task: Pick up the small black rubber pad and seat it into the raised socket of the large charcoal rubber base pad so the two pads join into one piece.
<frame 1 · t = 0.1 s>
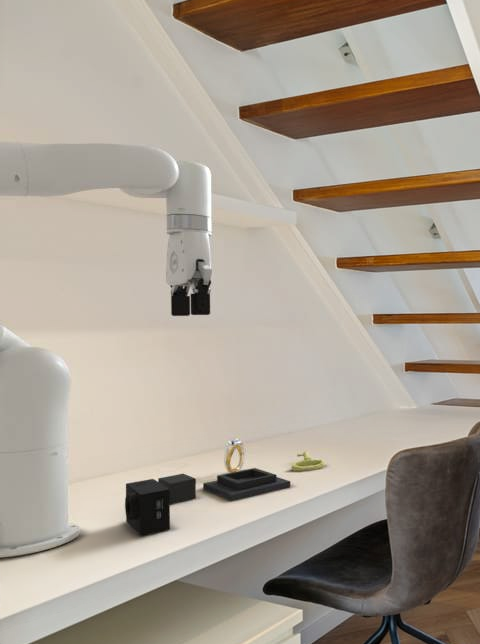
hand: (190, 315, 114), 37 cm above the table, tool pointing down, fingers open, 9 cm apart
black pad: (177, 498, 119), on the table
base pad: (246, 487, 125), on the table
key: (307, 466, 144), on the table
digital camera: (143, 528, 102), on the table
ring: (235, 473, 138), on the table
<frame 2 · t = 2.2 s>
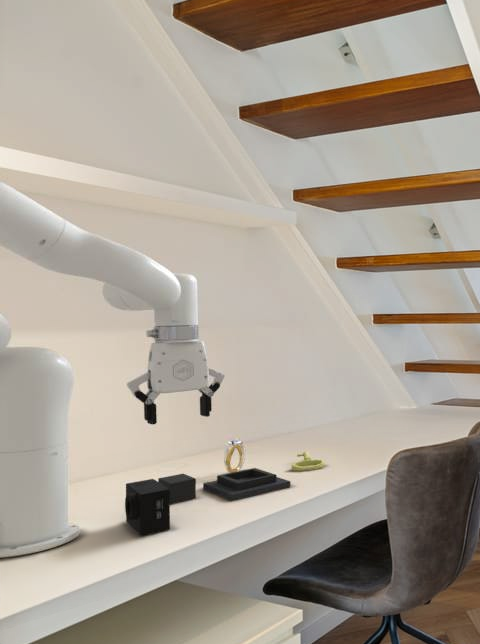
hand: (179, 419, 119), 16 cm above the table, tool pointing down, fingers open, 9 cm apart
nothing on the table moved.
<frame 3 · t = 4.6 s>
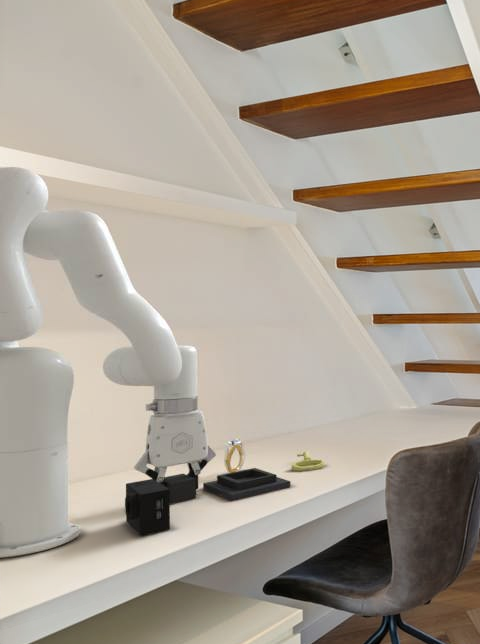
hand: (177, 496, 119), 0 cm above the table, tool pointing down, fingers closed on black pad, 4 cm apart
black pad: (177, 498, 119), on the table, touching gripper
everything else where it was.
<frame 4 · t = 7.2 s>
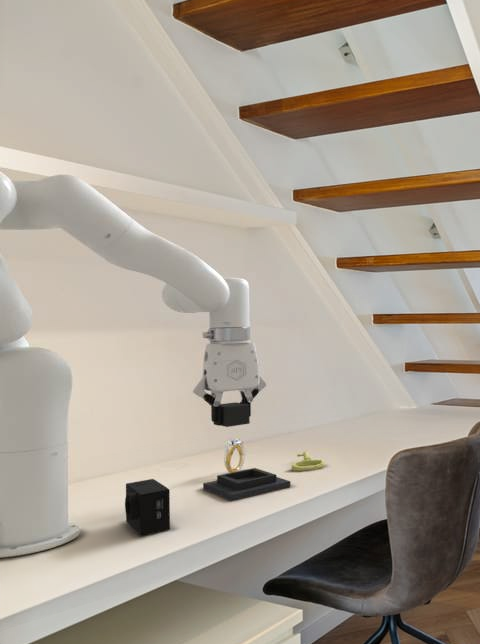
hand: (231, 421, 124), 14 cm above the table, tool pointing down, fingers closed on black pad, 4 cm apart
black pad: (231, 423, 124), point 14 cm above the table, touching gripper
everything else where it was.
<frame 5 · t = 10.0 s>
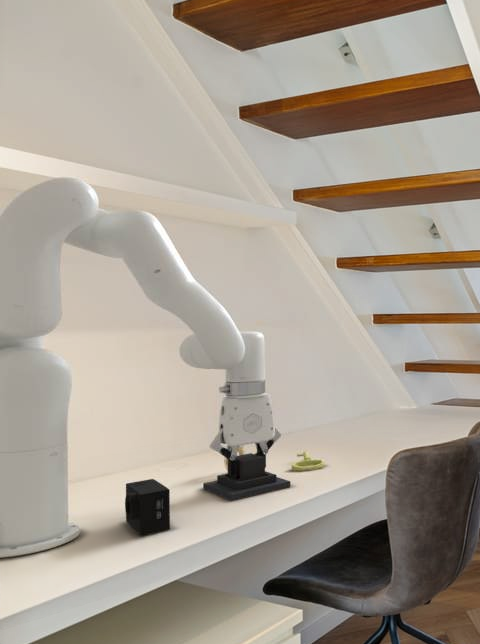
hand: (247, 474, 125), 3 cm above the table, tool pointing down, fingers closed on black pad, 4 cm apart
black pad: (247, 475, 125), point 2 cm above the table, touching gripper
everything else where it was.
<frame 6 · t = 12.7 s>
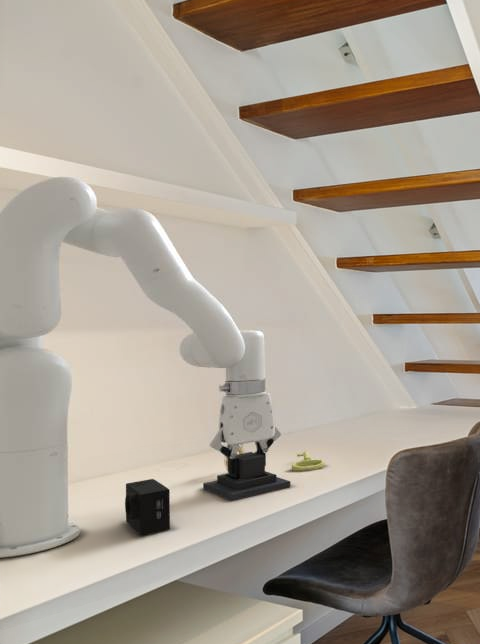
hand: (247, 472, 125), 3 cm above the table, tool pointing down, fingers closed on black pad, 4 cm apart
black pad: (247, 474, 125), point 3 cm above the table, touching gripper
everything else where it was.
when the fingers open (3 cm above the table, at t = 15.1 s): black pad drops 2 cm, resting on base pad.
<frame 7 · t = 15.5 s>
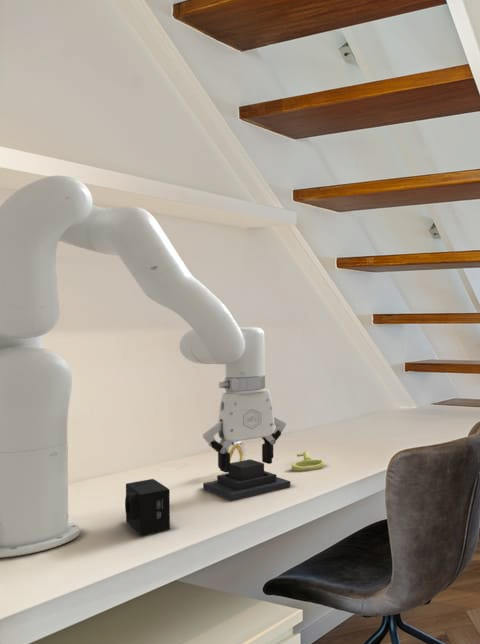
hand: (246, 466, 125), 4 cm above the table, tool pointing down, fingers open, 8 cm apart
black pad: (246, 482, 125), point 1 cm above the table, touching base pad
everything else where it was.
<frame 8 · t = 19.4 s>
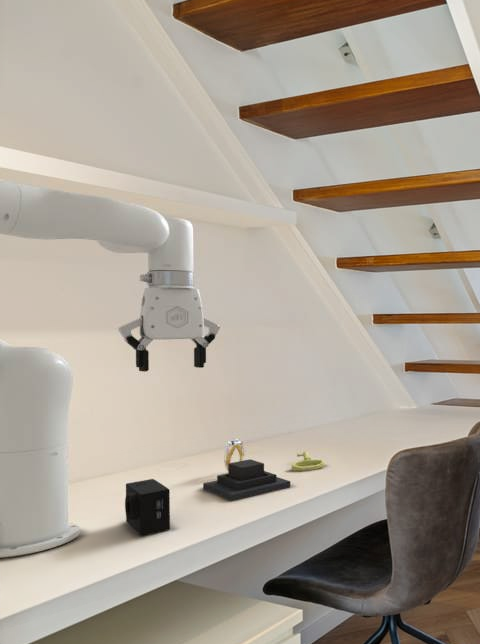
hand: (172, 369, 115), 26 cm above the table, tool pointing down, fingers open, 9 cm apart
nothing on the table moved.
at the end: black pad 0.1 cm off-centre on the base pad, point 1.2 cm above the base pad's base; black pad tilted 0°; the gripper is holding nothing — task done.
